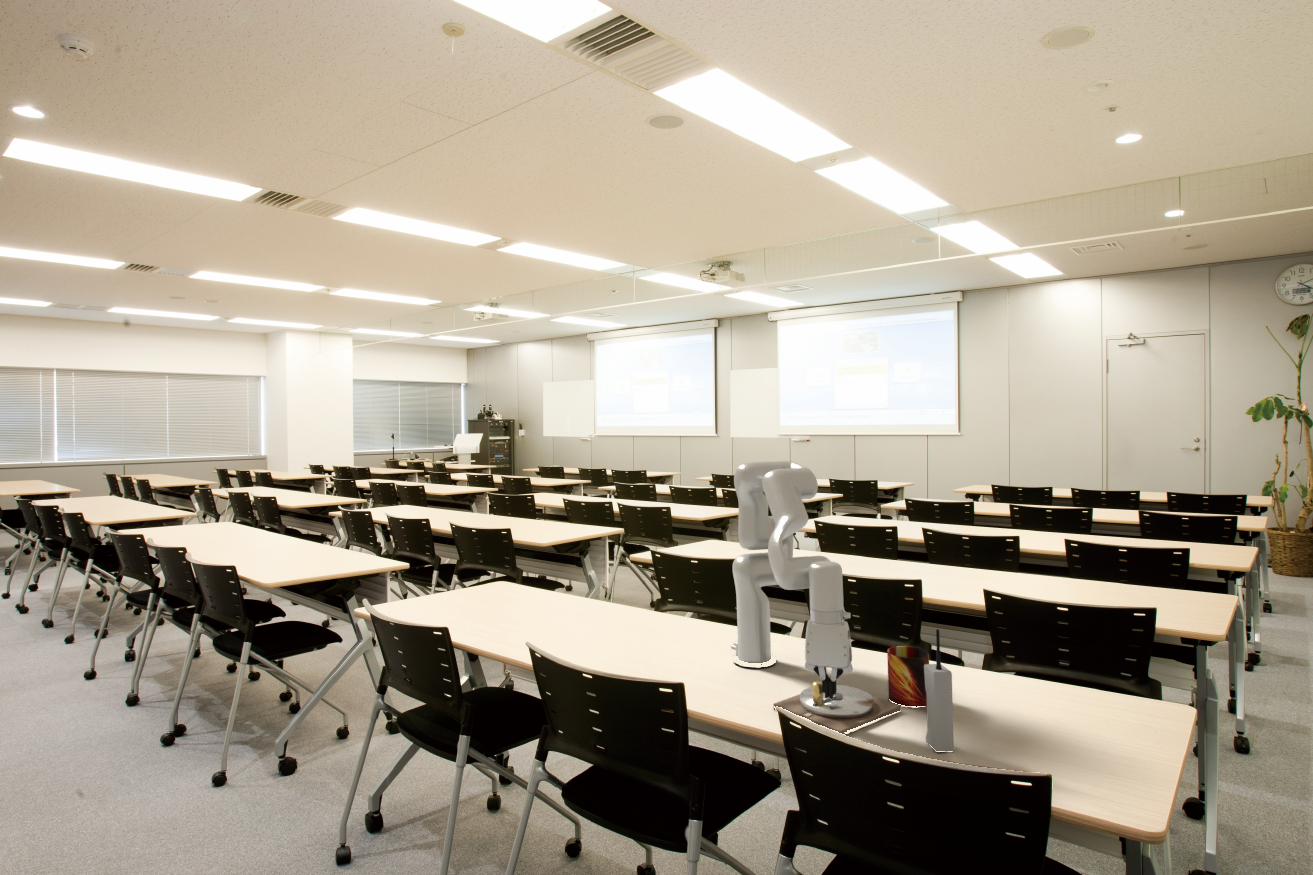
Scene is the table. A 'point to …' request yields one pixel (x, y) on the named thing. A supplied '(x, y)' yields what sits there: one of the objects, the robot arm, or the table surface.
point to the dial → (837, 702)
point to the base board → (840, 724)
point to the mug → (907, 675)
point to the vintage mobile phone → (939, 704)
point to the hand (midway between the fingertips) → (829, 696)
